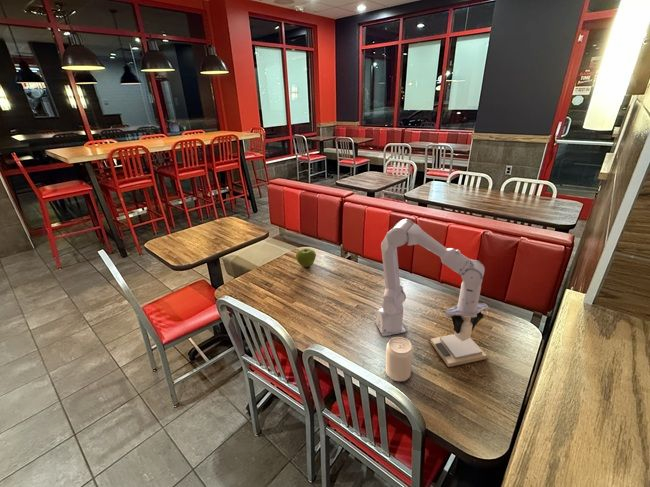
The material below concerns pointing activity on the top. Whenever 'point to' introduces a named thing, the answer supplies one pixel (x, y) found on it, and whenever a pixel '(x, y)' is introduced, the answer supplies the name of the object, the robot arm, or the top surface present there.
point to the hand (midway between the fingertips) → (463, 330)
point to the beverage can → (399, 358)
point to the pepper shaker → (465, 329)
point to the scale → (457, 350)
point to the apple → (306, 257)
